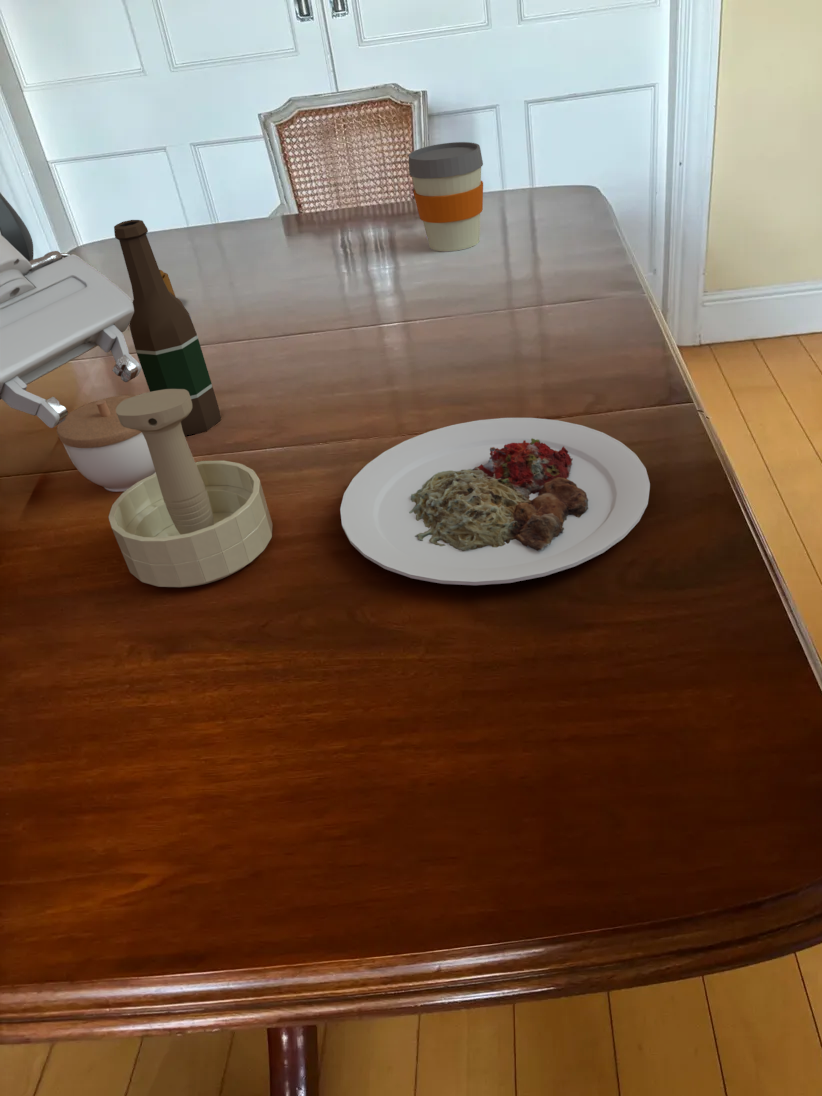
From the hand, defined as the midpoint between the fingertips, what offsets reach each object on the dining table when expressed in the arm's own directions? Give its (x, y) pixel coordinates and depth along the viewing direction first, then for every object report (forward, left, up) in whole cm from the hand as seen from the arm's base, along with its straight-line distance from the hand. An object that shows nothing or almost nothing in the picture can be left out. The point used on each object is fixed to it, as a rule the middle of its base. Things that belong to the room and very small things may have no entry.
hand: (99, 397), depth 81 cm
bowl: (+5, -3, -16) cm, 17 cm away
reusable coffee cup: (+42, +84, -16) cm, 95 cm away
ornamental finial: (-8, +69, -16) cm, 71 cm away
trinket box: (-5, +15, -16) cm, 23 cm away
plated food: (+34, -4, -16) cm, 38 cm away
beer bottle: (+1, +27, -16) cm, 32 cm away
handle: (+5, -3, -15) cm, 16 cm away
